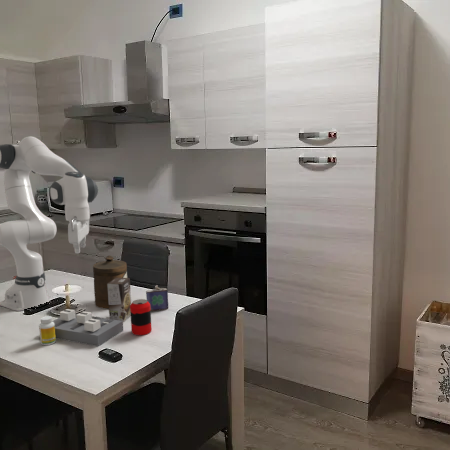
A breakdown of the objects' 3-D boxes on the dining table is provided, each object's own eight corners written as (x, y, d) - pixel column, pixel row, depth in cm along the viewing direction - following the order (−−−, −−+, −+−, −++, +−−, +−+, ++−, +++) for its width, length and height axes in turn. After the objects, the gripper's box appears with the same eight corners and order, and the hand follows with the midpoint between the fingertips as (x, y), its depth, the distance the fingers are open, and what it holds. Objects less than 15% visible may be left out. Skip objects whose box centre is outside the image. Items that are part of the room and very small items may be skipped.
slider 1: (60, 319, 189) (59, 311, 188) (67, 316, 192) (66, 308, 192) (68, 321, 187) (67, 312, 186) (75, 317, 190) (74, 309, 190)
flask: (147, 311, 208) (146, 287, 206) (146, 309, 210) (145, 285, 209) (168, 309, 210) (167, 285, 208) (168, 307, 213) (166, 283, 211)
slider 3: (84, 330, 178) (84, 321, 177) (91, 326, 181) (91, 317, 181) (93, 331, 176) (92, 323, 175) (100, 327, 180) (100, 319, 179)
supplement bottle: (38, 342, 179) (35, 318, 177) (52, 338, 182) (49, 314, 181) (44, 347, 175) (42, 321, 173) (58, 342, 179) (56, 317, 177)
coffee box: (124, 322, 196) (121, 284, 193) (109, 321, 197) (106, 283, 195) (132, 314, 205) (130, 277, 202) (118, 313, 206) (116, 277, 203)
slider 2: (76, 322, 185) (76, 314, 185) (83, 318, 189) (83, 310, 188) (85, 323, 184) (84, 315, 183) (92, 320, 187) (91, 311, 187)
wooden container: (132, 305, 217) (130, 257, 213) (99, 311, 210) (95, 261, 206) (123, 295, 230) (121, 250, 226) (92, 301, 223) (88, 254, 219)
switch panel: (31, 333, 187) (30, 323, 186) (59, 320, 201) (58, 310, 200) (98, 346, 174) (97, 335, 173) (123, 330, 188) (122, 320, 187)
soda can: (131, 336, 182) (129, 305, 180) (131, 328, 190) (129, 299, 187) (152, 334, 184) (150, 304, 182) (151, 326, 191) (149, 297, 189)
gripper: (80, 219, 175) (83, 256, 178) (91, 210, 196) (93, 244, 198) (62, 219, 175) (65, 257, 178) (75, 211, 195) (77, 244, 198)
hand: (80, 250), depth 188 cm, fingers open, 8 cm apart
